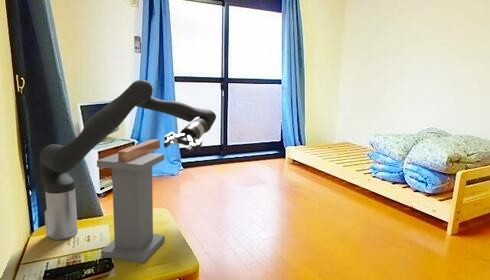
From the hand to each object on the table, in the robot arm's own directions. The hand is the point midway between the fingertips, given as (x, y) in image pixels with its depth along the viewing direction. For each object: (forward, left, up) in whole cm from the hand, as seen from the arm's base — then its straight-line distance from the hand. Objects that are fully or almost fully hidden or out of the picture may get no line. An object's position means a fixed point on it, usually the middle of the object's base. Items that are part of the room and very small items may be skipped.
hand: (175, 148), depth 119 cm
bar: (-7, -13, 0) cm, 15 cm away
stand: (-7, -18, -32) cm, 37 cm away
